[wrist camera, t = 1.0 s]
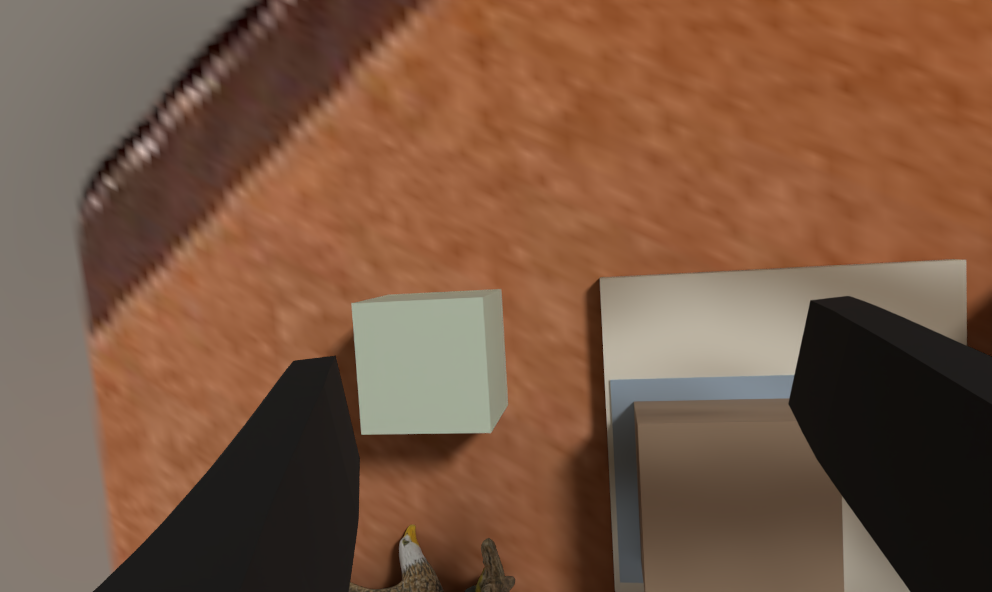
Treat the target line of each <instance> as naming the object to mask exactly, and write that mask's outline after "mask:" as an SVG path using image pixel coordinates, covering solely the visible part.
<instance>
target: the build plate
mask: <svg viewBox="0 0 992 592" xmlns="http://www.w3.org/2000/svg"><path fill="white" fill-rule="evenodd" d="M600 295H601V315H602V336H603V356H604V377H605V397H606V418H607V438H608V458H609V479H610V499H611V520H612V540H613V561H614V581H615V592H644V583H643V575H642V566H641V549H640V528H639V506H638V484H637V462H636V441H635V419H634V402H635V401H683V400H731V399H778V398H790V393H791V388H792V384H793V379H794V374H795V370H796V365H797V360H798V356H799V351H800V346H801V342H802V337H803V332H804V328H805V323H806V318H807V314H808V309H809V304H810V300H817V299H825V298H834V297H842V296H851V297H854V298H857V299H860V300H863V301H865V302H868V303H870V304H873V305H876V306H878V307H880V308H883V309H885V310H888V311H890V312H892V313H895V314H897V315H899V316H902V317H904V318H906V319H908V320H911V321H913V322H915V323H917V324H920V325H922V326H924V327H926V328H928V329H931V330H933V331H935V332H937V333H940V334H942V335H944V336H946V337H949V338H951V339H953V340H955V341H957V342H960V343H962V344H964V345H966V346H967V296H966V260H958V259H950V260H931V261H911V262H892V263H872V264H853V265H833V266H814V267H795V268H775V269H756V270H736V271H717V272H698V273H678V274H659V275H639V276H620V277H601V278H600ZM842 518H843V560H844V592H910V591H909V589H908V588H907V586H906V585H905V584H904V582H903V581H902V579H901V578H900V577H899V575H898V574H897V572H896V571H895V570H894V568H893V567H892V565H891V564H890V563H889V561H888V560H887V558H886V557H885V556H884V554H883V553H882V551H881V550H880V549H879V547H878V546H877V544H876V543H875V542H874V540H873V539H872V537H871V536H870V535H869V533H868V532H867V530H866V529H865V528H864V526H863V525H862V523H861V522H860V521H859V519H858V518H857V516H856V515H855V514H854V512H853V511H852V509H851V508H850V507H849V505H848V504H847V502H846V501H845V499H844V498H843V497H842Z"/></svg>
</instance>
